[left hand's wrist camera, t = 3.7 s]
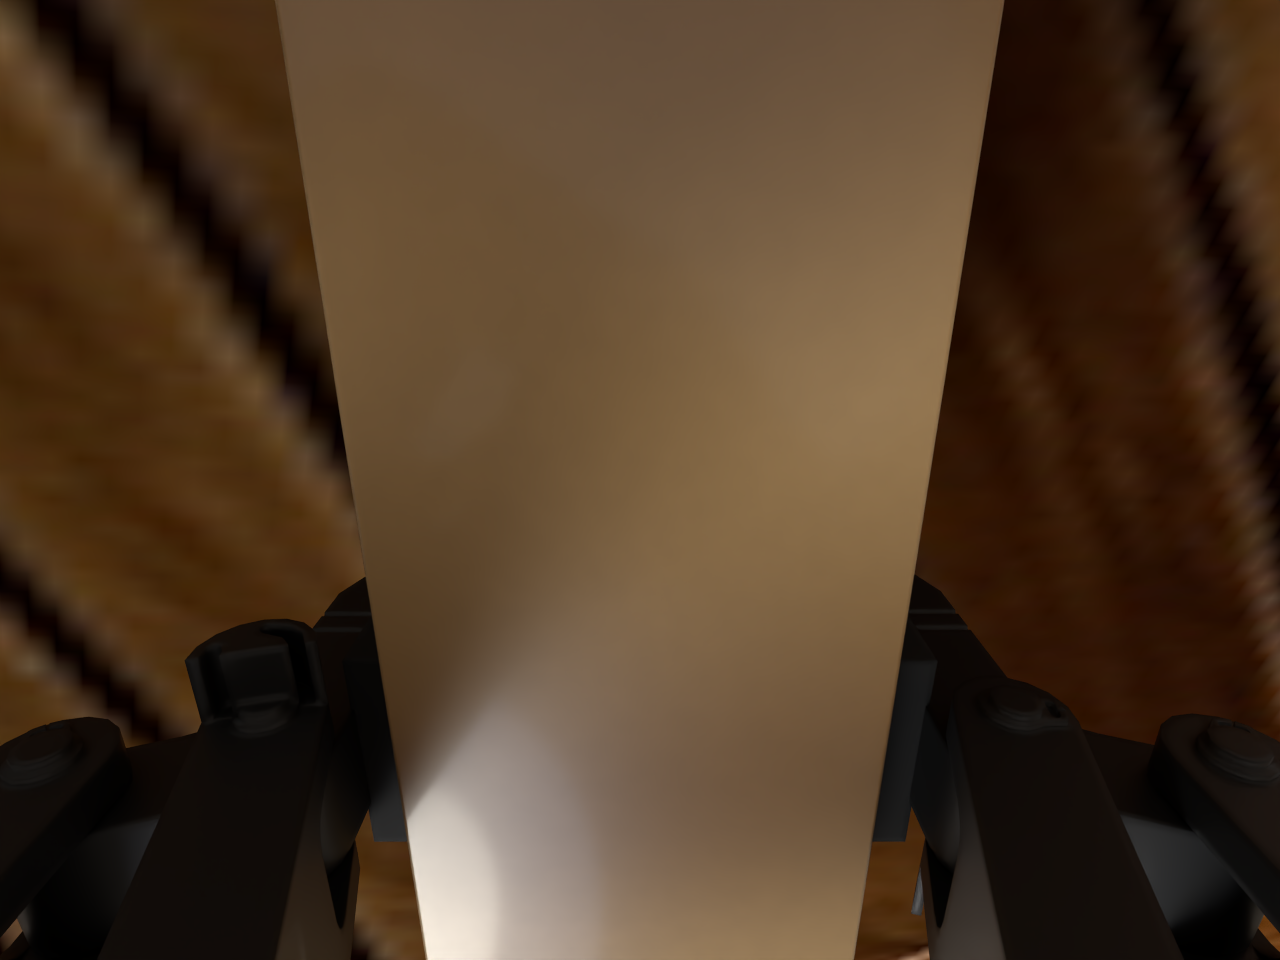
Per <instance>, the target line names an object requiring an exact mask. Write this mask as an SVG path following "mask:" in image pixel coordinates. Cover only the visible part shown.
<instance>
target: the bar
mask: <svg viewBox="0 0 1280 960" xmlns="http://www.w3.org/2000/svg"><path fill="white" fill-rule="evenodd" d="M275 4H276V10H277V17H278V23H279V29H280V36H281V42H282V48H283V55H284V61H285V67H286V74H287V80H288V86H289V93H290V99H291V105H292V112H293V118H294V125H295V131H296V137H297V144H298V150H299V156H300V163H301V169H302V175H303V182H304V188H305V194H306V201H307V207H308V213H309V220H310V226H311V232H312V239H313V245H314V252H315V258H316V264H317V271H318V277H319V283H320V290H321V296H322V302H323V309H324V315H325V321H326V328H327V334H328V340H329V347H330V353H331V359H332V366H333V372H334V378H335V385H336V391H337V398H338V404H339V410H340V417H341V423H342V429H343V436H344V442H345V448H346V455H347V461H348V467H349V474H350V480H351V486H352V493H353V499H354V505H355V512H356V518H357V524H358V531H359V537H360V544H361V550H362V556H363V563H364V569H365V575H366V582H367V588H368V594H369V601H370V607H371V613H372V620H373V626H374V632H375V639H376V645H377V651H378V658H379V664H380V671H381V677H382V683H383V690H384V696H385V702H386V709H387V715H388V721H389V728H390V734H391V740H392V747H393V753H394V759H395V766H396V772H397V778H398V785H399V791H400V797H401V804H402V810H403V817H404V823H405V829H406V836H407V842H408V848H409V855H410V861H411V867H412V874H413V880H414V886H415V893H416V899H417V905H418V912H419V918H420V924H421V931H422V937H423V943H424V950H425V956H426V960H854V954H855V947H856V941H857V935H858V928H859V922H860V916H861V909H862V903H863V897H864V890H865V884H866V877H867V871H868V865H869V858H870V852H871V846H872V839H873V833H874V827H875V820H876V814H877V807H878V801H879V795H880V788H881V782H882V776H883V769H884V763H885V757H886V750H887V744H888V738H889V731H890V725H891V718H892V712H893V706H894V699H895V693H896V687H897V680H898V674H899V668H900V661H901V655H902V648H903V642H904V636H905V629H906V623H907V617H908V610H909V604H910V598H911V591H912V585H913V578H914V572H915V566H916V559H917V553H918V547H919V540H920V534H921V528H922V521H923V515H924V508H925V502H926V496H927V489H928V483H929V477H930V470H931V464H932V458H933V451H934V445H935V439H936V432H937V426H938V419H939V413H940V407H941V400H942V394H943V388H944V381H945V375H946V369H947V362H948V356H949V349H950V343H951V337H952V330H953V324H954V318H955V311H956V305H957V299H958V292H959V286H960V279H961V273H962V267H963V260H964V254H965V248H966V241H967V235H968V229H969V222H970V216H971V209H972V203H973V197H974V190H975V184H976V178H977V171H978V165H979V159H980V152H981V146H982V140H983V133H984V127H985V120H986V114H987V108H988V101H989V95H990V89H991V82H992V76H993V70H994V63H995V57H996V50H997V44H998V38H999V31H1000V25H1001V19H1002V12H1003V6H1004V0H275Z"/></svg>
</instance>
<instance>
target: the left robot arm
mask: <svg viewBox="0 0 1280 960" xmlns="http://www.w3.org/2000/svg"><path fill="white" fill-rule="evenodd" d="M185 664H186V667H187V671H188V674H189V678H190V682H191V685H192V689H193V693H194V696H195V700H196V704H197V707H198V711H199V714H200V718H201V722H202V723H201V725H200V727H199V730H198V732H197V733H193V734H190V735H186V736H182V737H178V738H173V739H168V740H163V741H158V742H154V743H149V744H144V745H139V746H135V747H130V748H126V747H125V744H124V741H123V738H122V735H121V732H120V729H119V727H118V726H116V725H115V724H114V723H112V722H111V721H110V720H108V719H101V718H94V717H83V718H75V719H68V720H61V721H57V722H53V723H50V724H49V725H43V726H40V727H37V728H34V729H32V730H30V731H28V732H27V733H25V734H23V735H21V736H19V737H17V738H14V739H12V740H10V741H8V742H6V743H4V744H3V745H2V746H0V937H1V936H2V935H3V934H4V933H5V932H6V930H7V929H8V928H9V927H10V926H11V924H12V923H13V922H14V921H15V920H16V918H17V919H18V921H19V924H20V926H21V928H22V930H23V931H22V933H21V934H20V935H19V936H18V937H17V939H16V940H15V941H14V942H13V944H12V945H11V946H10V947H9V948H8V949H7V950H5V951H4V952H3V953H2V954H1V955H0V960H350V957H351V948H352V939H353V929H354V920H355V911H356V901H357V892H358V883H359V874H360V865H359V859H358V852H357V847H356V842H355V838H356V835H357V833H358V831H359V829H360V826H361V824H362V822H363V820H364V818H365V815H366V813H367V811H368V809H369V814H370V820H371V825H372V831H373V836H374V841H407V836H406V829H405V823H404V817H403V810H402V804H401V797H400V791H399V785H398V778H397V772H396V766H395V759H394V753H393V747H392V740H391V734H390V728H389V721H388V715H387V709H386V702H385V696H384V690H383V683H382V677H381V671H380V664H379V658H378V651H377V645H376V639H375V632H374V626H373V620H372V613H371V607H370V601H369V594H368V588H367V582H366V577H364V578H363V579H361V580H359V581H358V582H356V583H355V584H353V585H352V586H350V587H349V588H347V589H346V590H344V591H342V592H341V593H339V595H338V596H337V597H336V599H335V600H334V601H333V602H332V604H331V605H330V606H329V608H328V609H327V610H326V612H325V616H322V617H321V618H320V619H319V621H318V622H317V623H316V625H315V626H314V627H313V629H312V628H311V627H309V626H308V625H307V624H305V623H303V622H299V621H294V620H290V619H270V620H261V621H256V622H252V623H247V624H242V625H239V626H236V627H234V628H231V629H229V630H226V631H224V632H221V633H219V634H216V635H215V636H213V637H211V638H210V639H208V640H207V641H205V642H204V643H202V644H200V645H199V646H197V647H196V648H195V649H194V651H193V652H192V653H191V654H190V655H189V656H188V657H187V659H186V660H185ZM911 806H912V808H913V811H914V813H915V815H916V817H917V819H918V822H919V824H920V826H921V828H922V831H923V833H924V835H925V842H924V847H923V852H922V858H921V863H920V868H919V873H918V878H917V884H916V889H915V894H914V899H913V906H912V912H911V913H912V914H916V915H921V913H922V908H923V903H924V909H925V918H926V927H927V937H928V946H929V955H930V960H1280V952H1279V951H1278V950H1277V949H1276V948H1275V947H1274V946H1273V945H1272V944H1271V943H1270V942H1269V941H1268V940H1267V939H1266V937H1265V936H1264V935H1263V934H1262V933H1261V931H1260V930H1259V929H1258V927H1259V924H1260V922H1261V920H1262V918H1263V915H1265V916H1266V917H1267V919H1268V920H1269V921H1270V922H1271V923H1272V924H1273V926H1274V927H1275V928H1276V929H1277V930H1278V931H1279V933H1280V742H1278V741H1277V740H1275V739H1273V738H1271V737H1269V736H1267V735H1265V734H1263V733H1261V732H1259V731H1256V730H1254V729H1253V728H1252V727H1249V726H1247V725H1244V724H1242V723H1239V722H1236V721H1235V722H1233V721H1231V720H1229V719H1225V718H1220V717H1215V716H1207V715H1199V714H1185V715H1177V716H1172V717H1170V718H1169V719H1168V720H1166V721H1165V722H1164V723H1162V724H1161V727H1160V730H1159V733H1158V736H1157V739H1156V742H1155V745H1151V744H1146V743H1141V742H1136V741H1132V740H1127V739H1122V738H1117V737H1112V736H1108V735H1103V734H1098V733H1094V732H1091V731H1087V730H1083V729H1082V728H1081V726H1080V724H1079V722H1078V720H1077V719H1076V718H1075V716H1074V715H1073V714H1072V712H1071V711H1070V709H1069V708H1068V707H1067V706H1066V705H1065V704H1063V703H1062V702H1060V701H1059V700H1058V699H1056V698H1055V697H1054V696H1052V695H1051V694H1050V693H1048V692H1046V691H1043V690H1041V689H1039V688H1037V687H1035V686H1032V685H1030V684H1028V683H1025V682H1021V681H1017V680H1013V679H1009V678H1007V677H1006V675H1005V674H1004V673H1003V671H1002V670H1001V669H1000V668H999V666H998V665H997V664H996V662H995V661H994V660H993V659H992V657H991V656H990V655H989V653H988V652H987V651H986V649H985V648H984V647H983V646H982V644H981V643H980V642H979V640H978V639H977V638H976V636H975V635H974V634H973V633H972V631H971V630H968V629H967V625H966V623H965V622H964V621H963V620H962V618H961V617H960V616H959V614H955V609H954V608H953V607H952V605H951V604H950V603H949V601H948V600H947V599H946V598H945V596H944V595H943V594H942V592H941V591H940V590H938V589H936V588H935V587H933V586H932V585H930V584H929V583H927V582H926V581H924V580H922V579H921V578H919V577H918V576H916V575H914V578H913V585H912V591H911V598H910V604H909V610H908V617H907V623H906V629H905V636H904V642H903V648H902V655H901V661H900V668H899V674H898V680H897V687H896V693H895V699H894V706H893V712H892V718H891V725H890V731H889V738H888V744H887V750H886V757H885V763H884V769H883V776H882V782H881V788H880V795H879V801H878V807H877V814H876V820H875V827H874V833H873V839H872V841H905V839H906V834H907V828H908V822H909V817H910V811H911Z"/></svg>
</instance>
